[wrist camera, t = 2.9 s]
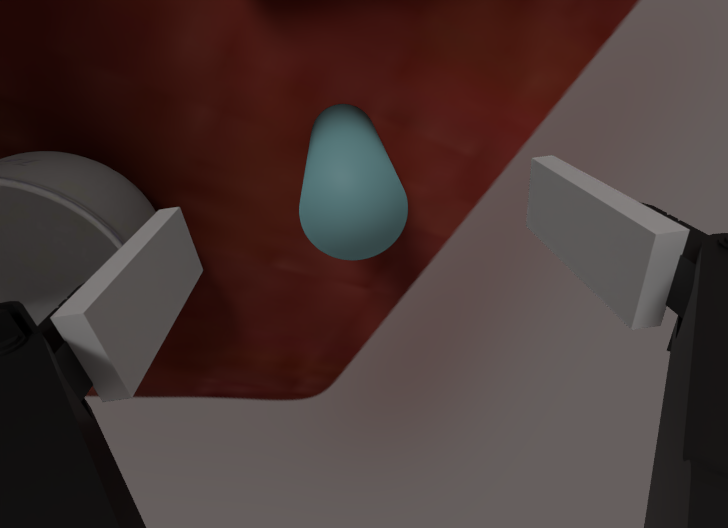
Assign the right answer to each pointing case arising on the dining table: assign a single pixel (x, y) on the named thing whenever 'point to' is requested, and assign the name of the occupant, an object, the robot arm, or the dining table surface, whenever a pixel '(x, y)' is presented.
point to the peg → (350, 187)
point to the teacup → (61, 225)
